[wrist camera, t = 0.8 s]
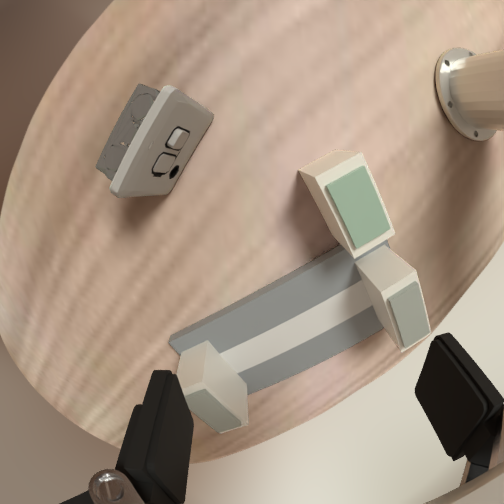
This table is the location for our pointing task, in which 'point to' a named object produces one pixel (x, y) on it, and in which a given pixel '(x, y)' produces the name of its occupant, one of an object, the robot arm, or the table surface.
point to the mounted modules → (235, 389)
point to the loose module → (348, 200)
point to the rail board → (290, 321)
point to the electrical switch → (152, 141)
